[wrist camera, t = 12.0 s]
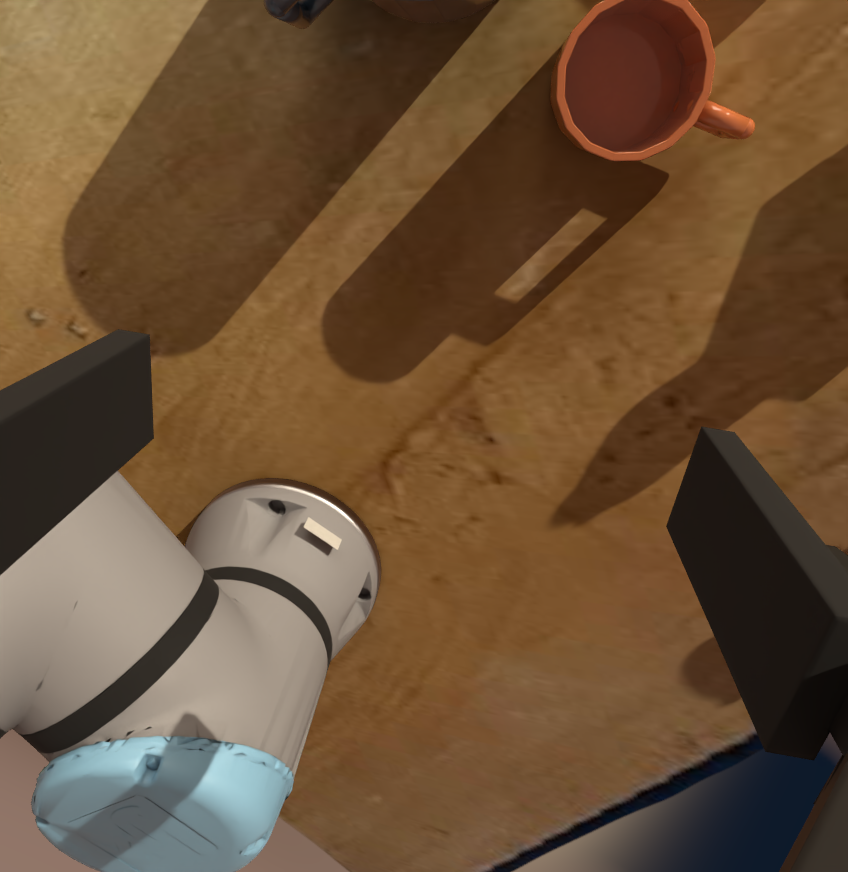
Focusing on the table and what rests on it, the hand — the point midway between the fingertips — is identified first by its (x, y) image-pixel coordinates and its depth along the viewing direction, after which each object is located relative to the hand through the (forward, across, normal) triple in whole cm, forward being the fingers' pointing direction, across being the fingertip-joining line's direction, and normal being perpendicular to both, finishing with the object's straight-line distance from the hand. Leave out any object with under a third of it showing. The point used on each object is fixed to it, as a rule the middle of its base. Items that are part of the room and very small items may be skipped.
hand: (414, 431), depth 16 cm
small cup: (+27, -8, -10) cm, 30 cm away
